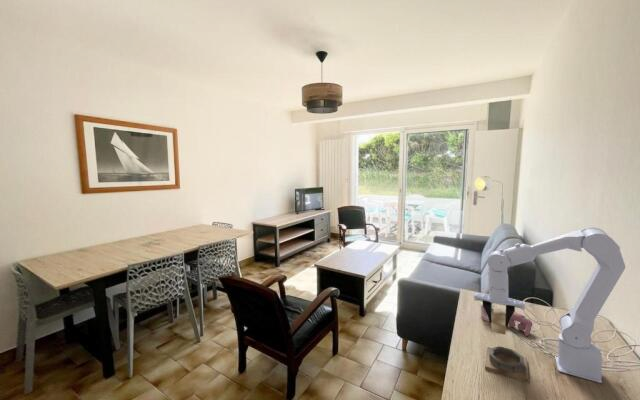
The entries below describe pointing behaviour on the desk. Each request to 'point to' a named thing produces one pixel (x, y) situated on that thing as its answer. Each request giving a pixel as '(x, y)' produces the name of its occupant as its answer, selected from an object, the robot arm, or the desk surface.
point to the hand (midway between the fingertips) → (498, 323)
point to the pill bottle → (484, 312)
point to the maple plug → (498, 320)
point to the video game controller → (521, 323)
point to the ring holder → (507, 363)
